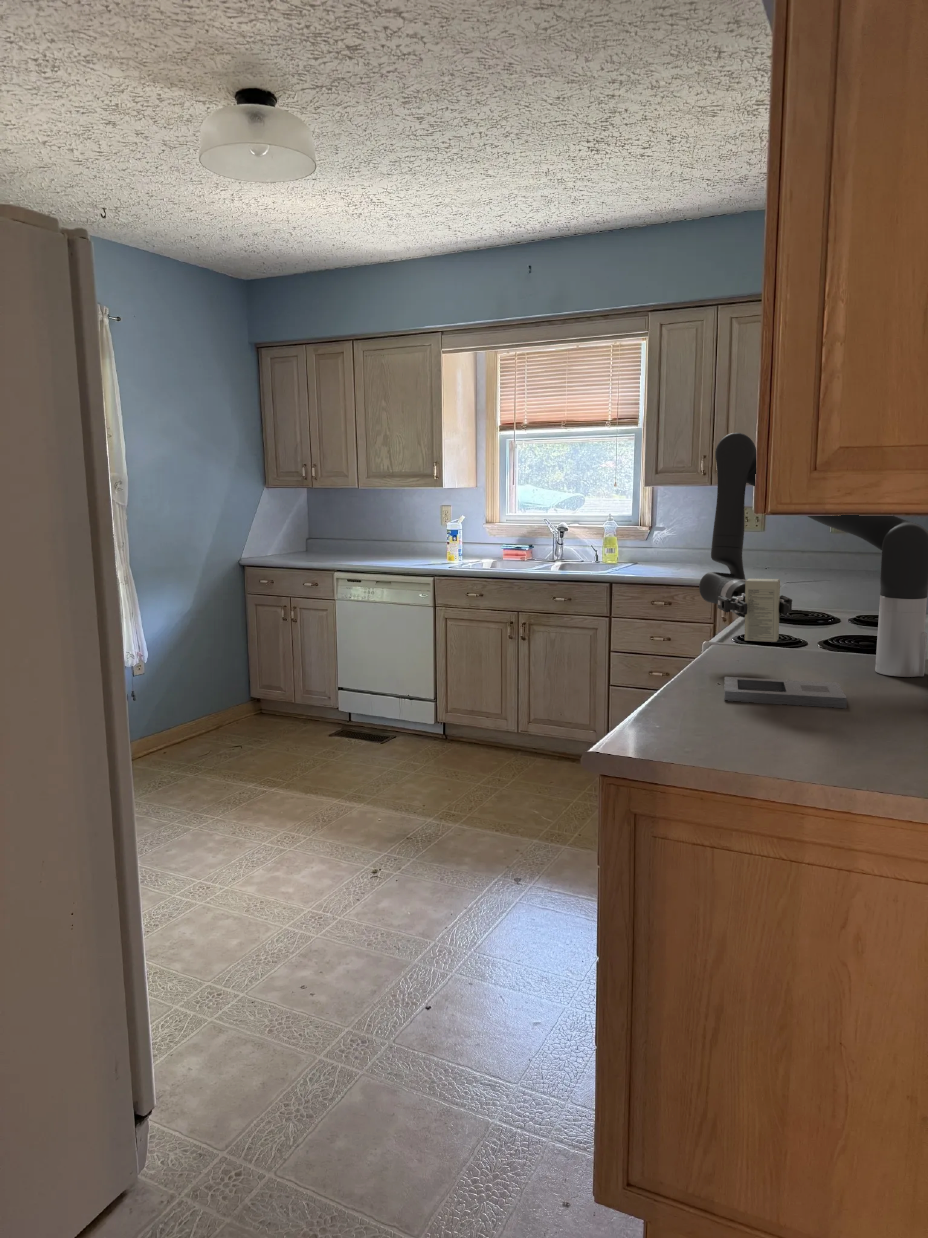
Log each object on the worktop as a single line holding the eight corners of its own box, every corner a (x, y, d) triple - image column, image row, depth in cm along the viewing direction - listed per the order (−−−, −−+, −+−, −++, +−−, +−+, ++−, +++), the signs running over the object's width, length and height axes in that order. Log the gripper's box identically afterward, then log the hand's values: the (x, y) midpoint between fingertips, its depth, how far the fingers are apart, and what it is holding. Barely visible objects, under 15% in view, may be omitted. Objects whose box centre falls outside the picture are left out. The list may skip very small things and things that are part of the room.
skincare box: (778, 639, 169) (782, 578, 167) (776, 642, 165) (779, 581, 163) (745, 636, 172) (748, 577, 170) (742, 640, 168) (745, 579, 166)
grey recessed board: (837, 692, 171) (838, 682, 171) (846, 708, 159) (846, 698, 158) (724, 686, 177) (724, 676, 177) (724, 701, 165) (724, 691, 165)
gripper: (709, 580, 181) (729, 590, 165) (777, 580, 180) (803, 590, 164) (708, 614, 182) (727, 628, 166) (775, 614, 182) (801, 628, 165)
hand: (765, 609), depth 165 cm, fingers closed on skincare box, 7 cm apart
